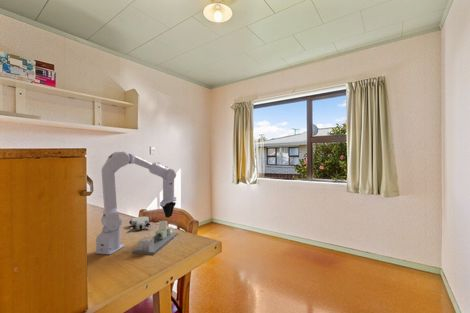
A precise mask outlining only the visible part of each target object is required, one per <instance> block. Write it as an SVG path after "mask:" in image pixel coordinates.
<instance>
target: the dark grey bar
mask: <svg viewBox="0 0 470 313" xmlns="http://www.w3.org/2000/svg"><path fill="white" fill-rule="evenodd" d="M167 232H168V228H167ZM154 236H155V235H154ZM152 237H153V236H152ZM159 237H161V234H158V235H156V236H155V237H153V238H154V241H155V240H157V239H158V238H159Z"/></svg>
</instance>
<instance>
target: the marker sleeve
mask: <svg viewBox="0 0 470 313" xmlns="http://www.w3.org/2000/svg"><path fill="white" fill-rule="evenodd" d="M167 229H168V220H167V221H166V220H159V221H158V229H157V230H156V231H155V232H154V233H155V234H154V236H156V235H158V234H161V237H159V238H158V239H164V238H165V237H167Z"/></svg>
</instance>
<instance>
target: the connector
mask: <svg viewBox="0 0 470 313" xmlns="http://www.w3.org/2000/svg"><path fill="white" fill-rule="evenodd" d="M138 247H139V251H150V250H152V249H153V248H154V238H152V236H151V237H150V236H149V237H147V236H144V237H142V238H140V239H139V240H138Z"/></svg>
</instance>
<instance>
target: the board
mask: <svg viewBox="0 0 470 313" xmlns="http://www.w3.org/2000/svg"><path fill="white" fill-rule="evenodd" d="M167 229H168V232H167V237H165V238H164V239H157V240H155V241H154V248H153V249H152V250H150V251H139V246H137V247H136V248H134V249H133V250H132V254H142V255H143V254H144V255H155V254H157V253H158V252H159V251H160V250H161V249H163V248H164V247H165V246H167V245H168V243H170V242H171V241H172V240H174V239H175V238H176V237H177V236H178V235H179V232H174V231H173V225H169V226H167ZM177 234H178V235H177ZM176 235H177V236H176ZM175 236H176V237H175ZM153 237H155V235H153V236H151V238H153ZM174 237H175V238H174Z"/></svg>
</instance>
